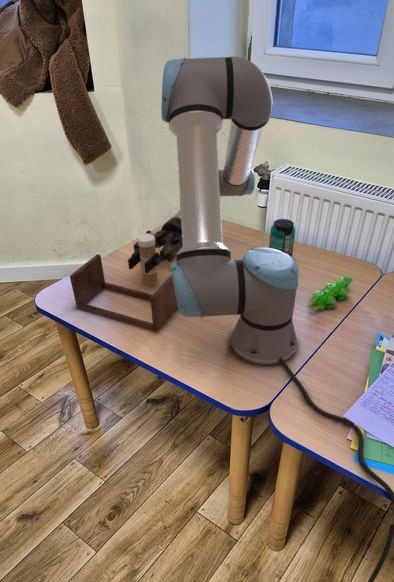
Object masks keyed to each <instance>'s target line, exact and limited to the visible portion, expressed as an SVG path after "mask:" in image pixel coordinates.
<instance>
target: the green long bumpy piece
mask: <svg viewBox="0 0 394 582" xmlns="http://www.w3.org/2000/svg"><path fill="white" fill-rule="evenodd" d="M352 282H353V278H352V277H351V276H348V275H343V276H340V277H339V279H338V280H335V282H334V283H333V282H327V283H325V284H324V286H325V288H323V290H322V291H320V290H315V291H313V292H312V295H313V296H312V297H313V299H312V300H311V301H310V302H309V303H308V304H307V306H306V308H311V307H312V308H313V309H312V311H318V310H323V309H325V308H326V309H332V308H334V304H336V303H337V299H338V301H342V300H345V299H346V296H347V295H348V294H349V291H348V289H347V288H348V287H349V285H351V283H352ZM336 298H337V299H336ZM314 305H315V307H313V306H314Z"/></svg>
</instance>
